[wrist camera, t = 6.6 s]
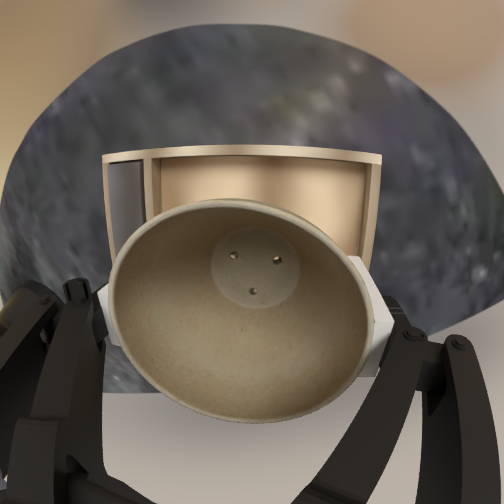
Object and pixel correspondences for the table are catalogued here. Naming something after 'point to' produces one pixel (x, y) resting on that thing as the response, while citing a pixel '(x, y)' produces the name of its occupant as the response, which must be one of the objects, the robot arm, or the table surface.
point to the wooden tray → (247, 187)
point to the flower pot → (240, 310)
